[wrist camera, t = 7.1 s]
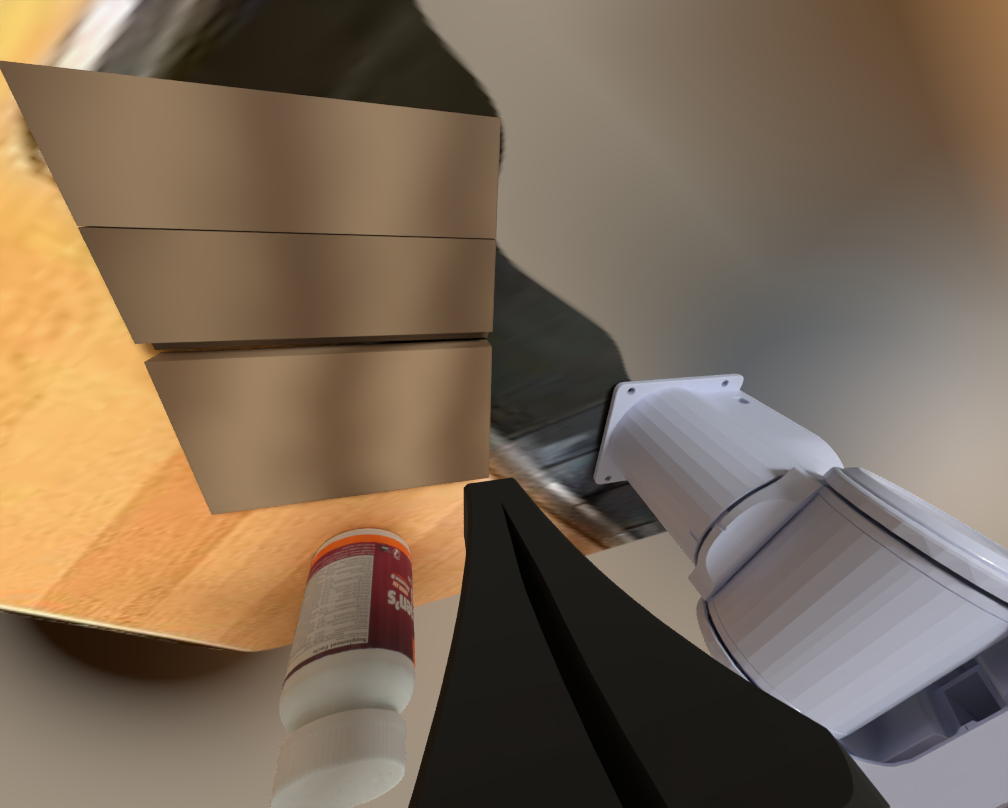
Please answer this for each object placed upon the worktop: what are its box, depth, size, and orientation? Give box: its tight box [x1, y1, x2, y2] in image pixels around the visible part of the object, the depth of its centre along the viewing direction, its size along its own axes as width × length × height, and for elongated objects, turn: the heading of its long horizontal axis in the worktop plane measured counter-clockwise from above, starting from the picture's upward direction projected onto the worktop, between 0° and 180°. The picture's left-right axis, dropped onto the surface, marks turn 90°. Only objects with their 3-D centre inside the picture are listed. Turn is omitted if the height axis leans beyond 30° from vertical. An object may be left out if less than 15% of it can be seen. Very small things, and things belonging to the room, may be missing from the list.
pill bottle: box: [270, 528, 415, 808], centre depth 19 cm, size 6×6×11 cm
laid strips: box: [0, 61, 501, 350], centre depth 14 cm, size 14×9×1 cm, turn 87°
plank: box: [144, 340, 492, 515], centre depth 18 cm, size 14×8×1 cm, turn 87°
